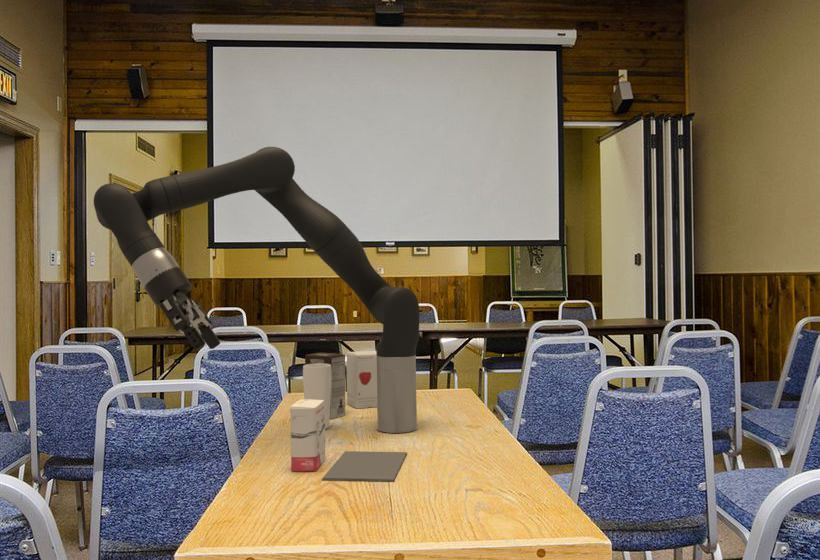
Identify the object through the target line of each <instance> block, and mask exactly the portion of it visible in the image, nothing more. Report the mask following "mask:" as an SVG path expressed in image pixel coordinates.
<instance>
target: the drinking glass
mask: <svg viewBox="0 0 820 560" xmlns="http://www.w3.org/2000/svg"><path fill="white" fill-rule="evenodd" d="M331 385H332V371H331V365H330V364H307V365H305V364H304V365H303V366H302V386H303V395H304V398H303V399H312V400H324V401H325V430H327V429H329V427H330V419H329V414H330V399H331Z"/></svg>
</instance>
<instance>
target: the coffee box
mask: <svg viewBox="0 0 820 560" xmlns="http://www.w3.org/2000/svg"><path fill="white" fill-rule="evenodd" d="M307 364H330V365H331V371H332V385H331V399H330V414H329V420H333V419H337V418H340V417H343V416H346V354H343V353H342V354H341V353H330V352H316V353H315V352H314V353H310V354H309V353H308V354H305V355H304V365H307Z"/></svg>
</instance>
